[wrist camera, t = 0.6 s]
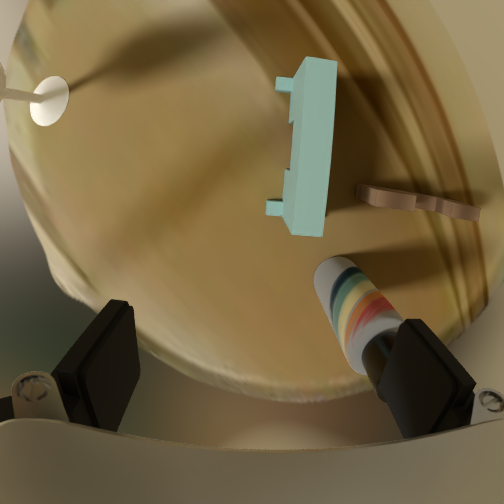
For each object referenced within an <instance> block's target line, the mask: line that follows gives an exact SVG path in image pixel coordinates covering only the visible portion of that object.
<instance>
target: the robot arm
mask: <svg viewBox="0 0 504 504" xmlns="http://www.w3.org/2000/svg"><path fill="white" fill-rule="evenodd" d="M139 376H140V363H139V355H138V347H137V338H136V329H135V319H134V309H133V307H132V306H129V304H128V302H127V301H122V300H114V299H111V300H110V301H109V302H108V303H107V304H106V306H105V307H104V308H103V309H102V310H101V312H100V313H99V314H98V315H97V316H96V318H95V319H94V320H93V321H92V322H91V324H90V325H89V326H88V327H87V329H86V330H85V331H84V332H83V333H82V335H81V336H80V337H79V338H78V340H77V341H76V342H75V344H74V345H73V346H72V347H71V348H70V350H69V351H68V352H67V354H66V355H65V356H64V357H63V359H62V360H61V361H60V363H59V364H58V365H57V366H56V368H55V369H54V370H53V372H52V373H51V375H49V374H47V373H44V372H39V371H36V372H29V373H25V374H23V375H21V376H20V377H18V378H17V379H16V380H15V381H14V383H13V385H12V387H11V395H12V396H9V397H5V398H1V399H0V504H504V396H503V395H502V394H501V393H500V392H498V391H496V390H494V389H490V388H482V389H479V390H478V391H477V392H476V394H474V392H473V389H474V387H475V385H476V382H475V381H474V380H473V378H472V377H471V376H470V375H469V374H468V372H467V371H466V370H465V369H464V368H463V366H462V365H461V364H460V363H459V362H458V361H457V359H456V358H455V357H454V356H453V355H452V353H451V352H450V351H449V350H448V349H447V348H446V346H445V345H444V344H443V343H442V342H441V341H440V340H439V338H438V337H437V336H436V335H435V334H434V333H433V332H432V331H431V330H430V328H429V327H428V326H427V325H426V324H425V323H424V322H423V321H422V320H421V319H406V320H405V321H404V322H403V323H401V324H400V326H399V329H398V332H397V335H396V338H395V341H394V344H393V347H392V349H391V352H390V355H389V358H388V361H387V363H386V366H385V369H384V371H383V374H382V377H381V379H380V390H381V392H382V394H383V396H384V398H385V400H386V402H387V404H388V406H389V408H390V410H391V412H392V414H393V416H394V419H395V421H396V423H397V425H398V427H399V429H400V431H401V433H402V436H403V438H404V439H402V440H396V441H390V442H383V443H376V444H368V445H359V446H350V447H338V448H324V449H301V450H259V449H257V450H256V449H234V448H220V447H208V446H198V445H190V444H182V443H175V442H168V441H162V440H155V439H149V438H143V437H138V436H133V435H127V434H122V433H118V432H117V429H118V427H119V425H120V422H121V420H122V417H123V415H124V412H125V410H126V408H127V405H128V403H129V401H130V398H131V396H132V393H133V391H134V389H135V387H136V384H137V382H138V380H139Z"/></svg>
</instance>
